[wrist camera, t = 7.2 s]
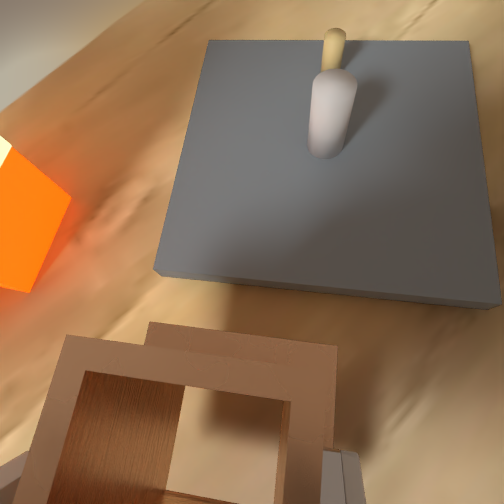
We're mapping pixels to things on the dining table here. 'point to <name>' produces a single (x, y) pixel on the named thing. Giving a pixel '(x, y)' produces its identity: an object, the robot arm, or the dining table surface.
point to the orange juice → (26, 218)
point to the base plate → (335, 172)
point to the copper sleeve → (171, 413)
